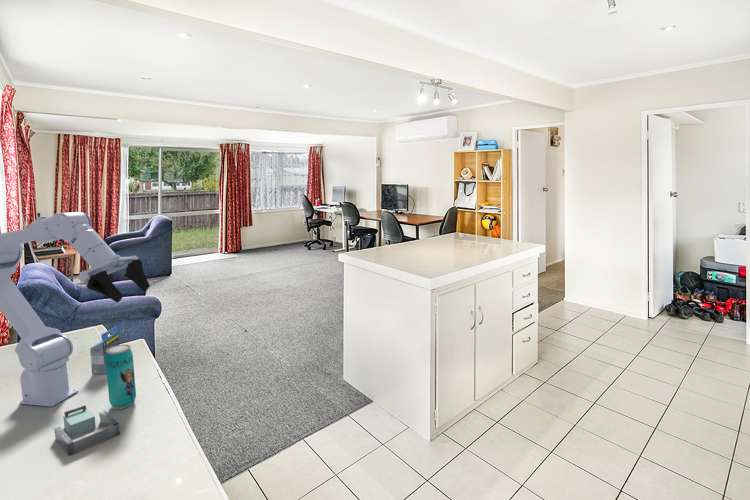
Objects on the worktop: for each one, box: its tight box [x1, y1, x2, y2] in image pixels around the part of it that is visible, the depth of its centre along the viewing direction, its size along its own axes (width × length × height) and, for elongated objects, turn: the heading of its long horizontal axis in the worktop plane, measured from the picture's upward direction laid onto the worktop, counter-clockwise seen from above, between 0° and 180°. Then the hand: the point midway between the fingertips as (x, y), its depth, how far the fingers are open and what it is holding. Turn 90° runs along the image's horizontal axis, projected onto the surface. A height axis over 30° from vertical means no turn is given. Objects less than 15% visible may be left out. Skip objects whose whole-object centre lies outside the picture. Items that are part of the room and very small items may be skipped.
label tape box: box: [89, 325, 120, 376], centre depth 122 cm, size 9×4×12 cm, turn 6°
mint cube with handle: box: [62, 404, 97, 438], centre depth 92 cm, size 6×4×4 cm
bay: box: [53, 409, 121, 457], centre depth 89 cm, size 9×10×2 cm
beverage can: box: [105, 344, 137, 410], centre depth 101 cm, size 6×6×15 cm
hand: (134, 293), depth 95 cm, fingers open, 7 cm apart
